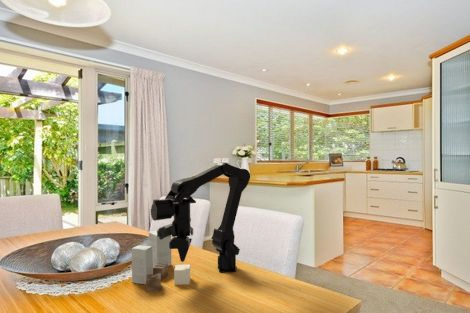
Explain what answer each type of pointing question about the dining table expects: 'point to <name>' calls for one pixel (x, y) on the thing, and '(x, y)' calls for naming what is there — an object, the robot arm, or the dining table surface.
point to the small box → (160, 248)
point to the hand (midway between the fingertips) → (182, 261)
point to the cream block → (181, 274)
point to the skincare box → (141, 263)
